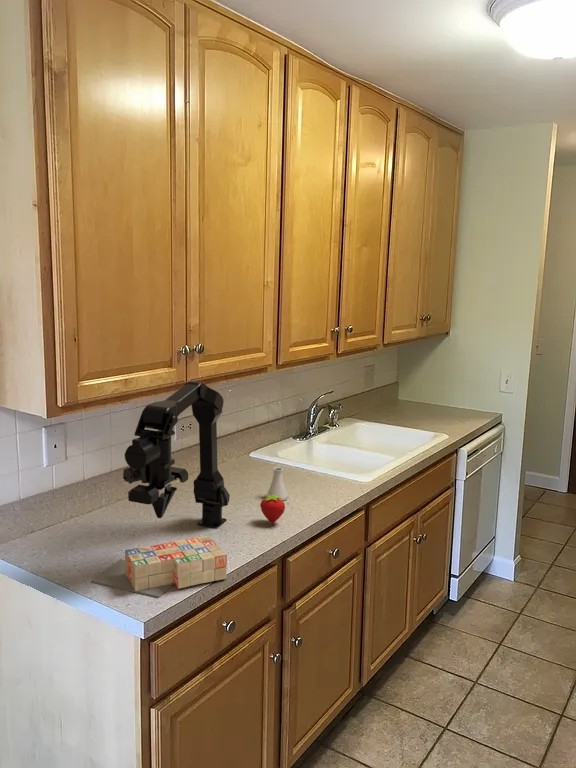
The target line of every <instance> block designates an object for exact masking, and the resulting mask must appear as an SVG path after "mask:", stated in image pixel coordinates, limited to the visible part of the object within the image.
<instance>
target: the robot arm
mask: <svg viewBox="0 0 576 768" xmlns="http://www.w3.org/2000/svg"><path fill="white" fill-rule="evenodd" d="M190 406H191V412H192V415H193V417H194V418H195V420H196V421H197V423H198V438H199V439H198V441H199V442H198V443H199V474H198V475H197V477H196V478H195V479H194V480H193V495H194V501H195V503H196V504H202V505H201V506H202V507H201V508H202V511H201V512H202V513H201V514H202V515H201V519H200V520H199V521H198V522H196V523H197V525H199V526H204V527H208V528H209V527H210V528H214V529H218V528H220V526H221V525H223V524H224V523H225V522H226V521H227V518H223V507H227V506H229V503H230V496H231V495H230V492H228V490H227V488H226V487H225V481H224V477H223V476H222V474H221V473H220V471H219V470H218V468H219V467H218V435H217V434H218V433H217V430H218V428H217V422H218V419H219V418H220V416H221V415H222V414H223V408H224V398H223V396H222V394H221V393H220V392H218V391H216V390H214V389H212V388H210V387H209V386H208V385H207V384H206V383H204V382H200V381H193V380H192V381H191V380H189V381H186V382H185V383H184V384H183V386H182V387H181V388H180V389H178V390H177V391H175V392H174V393H173V394H171V395H170V396H168V398H166V399H164V400H160V401H154V402H151V403H149V404H147V405H145V406H144V408H143V410H142V412H141V414H140V417H139V420H138V422H137V426H136V428H135V432H134V436H135V437H137V438H134V439H132V441H131V442H132V443H131V445H129V446H128V447H127V448H126V450H125V453H124V459H125V463H126V464H127V465H128V466H129V467H126V468H123V473H122V479H123V480H124V482H126V483H128V484H129V485H130V484H133V483H136V482H139V481H141V484H138V485H137V486H134V487H133V488H131V489H130V490H128V492H127V499H128V502H132V503H138V504H142V505H143V504H144V505H152V507H153V510H154V513H155V516H156V518H157V519H162V518H163V517H164V515H165V513H166V511H167V509H168V506H169V504H170V502H171V500H172V498H173V497H174V495H175V492H176V491H177V489H178V488H177V487H176V486H173V485H172V483H173V482H174V481H176V480H178V479H179V481H180V483H182V484H183V483H185V482H187V481H189V472H188V471H187V469H186V468H183V467H175V466H173V465H175V463H176V461H175V460H176V459H173V458H172V436H174V435H176V432H175V431H174V430H173V429H174V428H175V426H176V425H177V424H178V422H179V418H178V417H179V416H180V415H181V414H182V413H183V412H184V411H185V410H186V409H188V408H189V407H190ZM143 484H148V485H143Z"/></svg>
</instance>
